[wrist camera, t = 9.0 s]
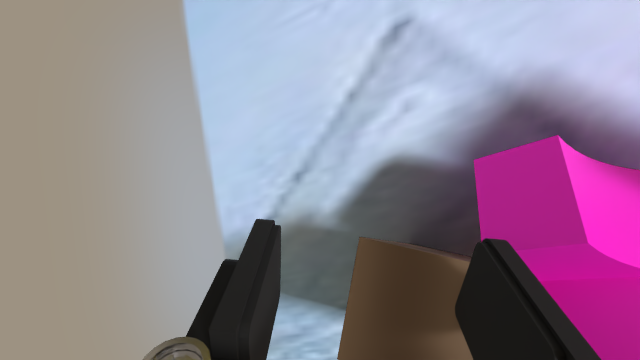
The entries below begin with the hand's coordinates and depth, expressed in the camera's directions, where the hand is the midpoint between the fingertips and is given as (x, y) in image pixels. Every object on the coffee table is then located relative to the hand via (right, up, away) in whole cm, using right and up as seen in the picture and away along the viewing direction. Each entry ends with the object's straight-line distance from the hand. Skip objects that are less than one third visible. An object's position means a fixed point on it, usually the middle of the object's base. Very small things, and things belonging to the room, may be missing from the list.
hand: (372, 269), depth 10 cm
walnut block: (+5, -3, +6) cm, 9 cm away
